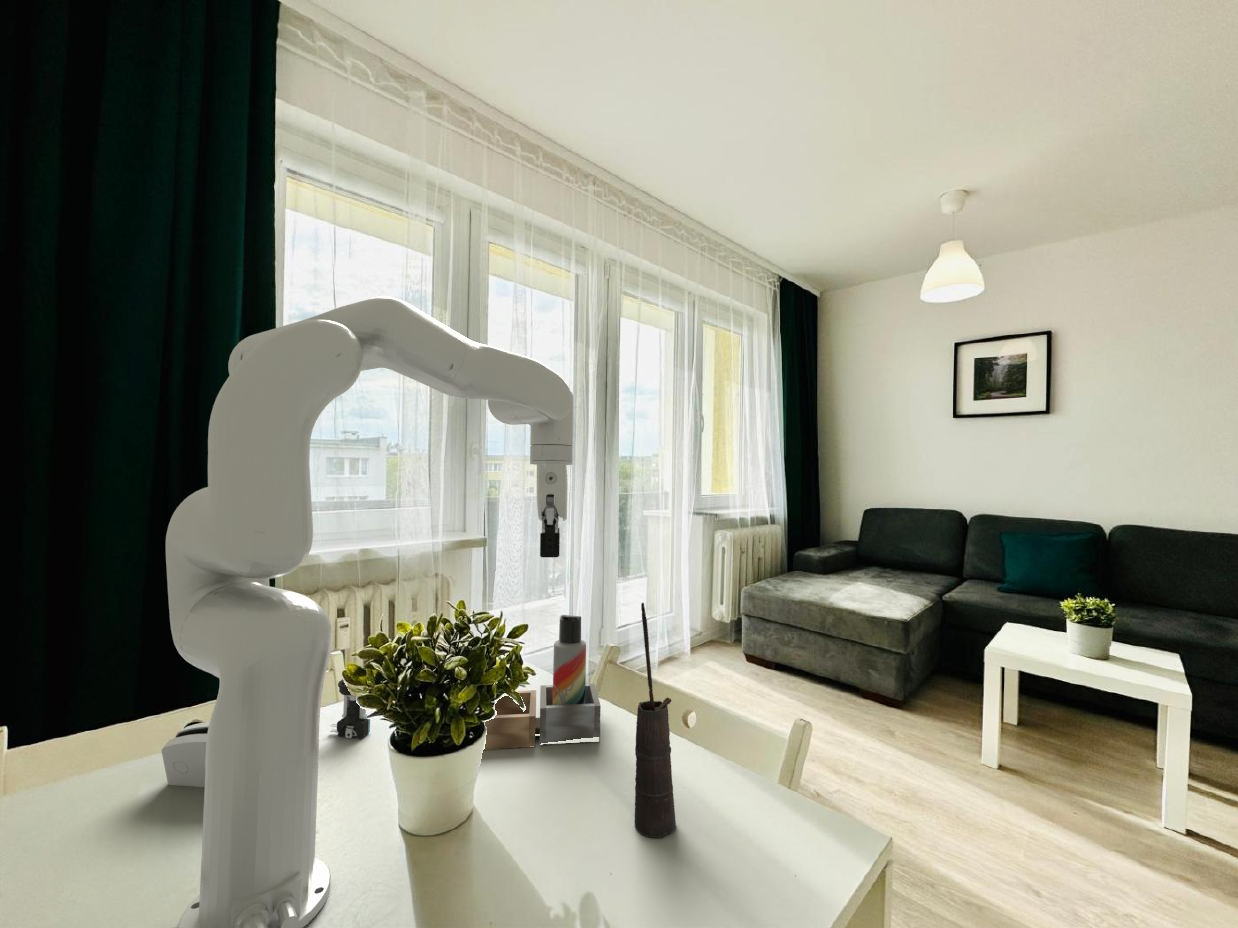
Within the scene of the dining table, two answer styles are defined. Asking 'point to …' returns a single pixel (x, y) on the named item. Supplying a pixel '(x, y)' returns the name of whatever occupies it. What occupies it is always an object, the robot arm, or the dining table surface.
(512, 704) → the bottle stand
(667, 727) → the butter churn
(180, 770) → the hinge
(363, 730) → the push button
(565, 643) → the lotion bottle
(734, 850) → the dining table surface
